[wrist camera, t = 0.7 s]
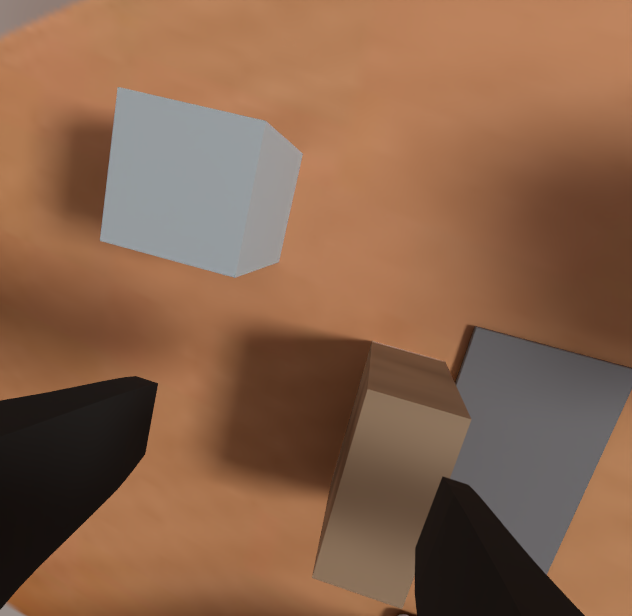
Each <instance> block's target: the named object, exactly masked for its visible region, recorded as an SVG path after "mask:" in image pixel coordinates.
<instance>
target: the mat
mask: <svg viewBox="0 0 632 616" xmlns="http://www.w3.org/2000/svg"><path fill="white" fill-rule="evenodd" d="M455 384H456V387H457V389H458V391H459V393H460V395H461V397H462V400H463V402H464V404H465V406H466V408H467V411H468V413H469V415H470V417H471V419H472V420H471V422H470V425H469V428H468V430H467V433H466V436H465V439H464V441H463V444H462V447H461V450H460V452H459V455H458V458H457V461H456V463H455V466H454V469H453V471H452V474H451V477H450V479H453V480H456V481H459V482H462V483H465V484H468V485H469V486H470V487H471V488H472V489H473V490H474V491H475V492H476V493H477V494H478V495H479V496H480V497H481V499H482V500H483V501H484V502H485V503H486V504H487V506H488V507H489V508H490V509H491V510H492V512H493V513H494V514H495V515H496V516H497V518H498V519H499V520H500V521H501V522H502V524H503V525H504V526H505V527H506V528H507V530H508V531H509V532H510V533H511V534H512V536H513V537H514V538H515V539H516V540H517V542H518V543H519V544H520V545H521V546H522V547H523V549H524V550H525V551H526V552H527V553H528V554H529V556H530V557H531V558H532V559H533V560H534V561H535V563H536V564H537V565H538V566H539V567H540V568H541V569H542V570H543V572H544V573H545V574H546V575H547V573H548V571H549V568H550V566H551V564H552V562H553V560H554V557H555V555H556V553H557V551H558V549H559V547H560V544H561V542H562V540H563V538H564V536H565V533H566V531H567V529H568V527H569V525H570V523H571V520H572V518H573V516H574V514H575V512H576V510H577V507H578V505H579V503H580V501H581V499H582V496H583V494H584V492H585V490H586V488H587V486H588V483H589V481H590V479H591V477H592V475H593V472H594V470H595V468H596V466H597V464H598V462H599V459H600V457H601V455H602V453H603V451H604V449H605V446H606V444H607V442H608V440H609V438H610V435H611V433H612V431H613V429H614V427H615V425H616V422H617V420H618V418H619V416H620V414H621V411H622V409H623V407H624V405H625V403H626V401H627V398H628V396H629V394H630V392H631V390H632V368H629V367H626V366H622V365H618V364H615V363H611V362H607V361H603V360H600V359H596V358H592V357H589V356H585V355H581V354H577V353H574V352H570V351H566V350H563V349H559V348H555V347H551V346H548V345H544V344H540V343H537V342H533V341H529V340H525V339H522V338H518V337H514V336H511V335H507V334H503V333H499V332H496V331H492V330H488V329H485V328H481V327H477V326H475V328H474V331H473V334H472V336H471V339H470V342H469V345H468V348H467V351H466V354H465V357H464V359H463V362H462V365H461V368H460V371H459V374H458V377H457V380H456V382H455Z"/></svg>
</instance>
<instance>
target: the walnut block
mask: <svg viewBox="0 0 632 616" xmlns="http://www.w3.org/2000/svg"><path fill="white" fill-rule="evenodd" d="M471 420H472V419H471V417H470V415H469V413H468V411H467V408H466V406H465V404H464V402H463V400H462V397H461V395H460V393H459V391H458V389H457V387H456V384H455V382H454V380H453V378H452V376H451V373H450V371H449V369H448V367H447V365H446V362H445V361H442V360H438V359H435V358H431V357H428V356H424V355H421V354H417V353H413V352H410V351H406V350H403V349H399V348H396V347H392V346H388V345H385V344H381V343H378V342H374V341H372V343H371V347H370V350H369V354H368V357H367V361H366V364H365V367H364V371H363V374H362V378H361V381H360V385H359V388H358V392H357V395H356V399H355V402H354V406H353V409H352V413H351V416H350V419H349V423H348V426H347V430H346V433H345V437H344V440H343V444H342V447H341V451H340V454H339V458H338V461H337V464H336V468H335V471H334V475H333V478H332V482H331V486H330V491H329V496H328V501H327V506H326V511H325V516H324V521H323V526H322V531H321V536H320V541H319V546H318V551H317V556H316V561H315V566H314V571H313V576H312V578H314V579H317V580H320V581H323V582H326V583H329V584H331V585H334V586H337V587H340V588H343V589H346V590H349V591H352V592H354V593H357V594H360V595H363V596H366V597H369V598H372V599H375V600H378V601H380V602H383V603H386V604H389V605H392V606H395V607H398V608H401V609H402V608H403V605H404V603H405V600H406V597H407V594H408V592H409V589H410V586H411V583H412V581H413V578H414V575H415V547H416V544H417V542H418V539H419V537H420V534H421V531H422V529H423V526H424V524H425V521H426V518H427V516H428V513H429V510H430V508H431V505H432V503H433V500H434V497H435V495H436V492H437V489H438V487H439V484H440V482H441V479H442V476H443V477H446V478H449V479H450V477H451V474H452V471H453V469H454V466H455V463H456V461H457V458H458V455H459V452H460V450H461V447H462V444H463V441H464V439H465V436H466V433H467V430H468V428H469V425H470V422H471Z"/></svg>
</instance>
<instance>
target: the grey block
mask: <svg viewBox="0 0 632 616" xmlns="http://www.w3.org/2000/svg"><path fill="white" fill-rule="evenodd" d="M302 155H303V153H301V152H300V151H299V150H298V149H297V148H296V147H295V146H294V145H292V144H291V143H290V142H289V141H288V140H287V139H286V138H284V137H283V136H282V135H281V134H280V133H279V132H278V131H277V130H275V129H274V128H273V127H272V126H271V125H270V124H269V123H268V122H266V121H264V120H259V119H255V118H251V117H246V116H242V115H237V114H233V113H229V112H224V111H220V110H216V109H211V108H207V107H203V106H198V105H194V104H190V103H185V102H181V101H177V100H172V99H168V98H163V97H159V96H155V95H150V94H146V93H142V92H137V91H133V90H129V89H124V88H120V87H118V90H117V99H116V107H115V116H114V124H113V133H112V142H111V150H110V159H109V167H108V176H107V184H106V193H105V201H104V210H103V219H102V227H101V236H100V241H103V242H106V243H110V244H114V245H117V246H121V247H125V248H128V249H132V250H136V251H139V252H143V253H147V254H150V255H154V256H158V257H161V258H165V259H168V260H172V261H176V262H179V263H183V264H187V265H190V266H194V267H198V268H201V269H205V270H209V271H212V272H216V273H220V274H223V275H227V276H231V277H234V278H235V277H238V276H241V275H244V274H247V273H250V272H252V271H255V270H258V269H261V268H264V267H266V266H269V265H272V264H275V263H278V262H279V259H280V254H281V250H282V245H283V241H284V236H285V232H286V227H287V223H288V218H289V214H290V209H291V205H292V200H293V196H294V191H295V187H296V182H297V178H298V173H299V169H300V164H301V160H302Z"/></svg>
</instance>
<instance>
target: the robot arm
mask: <svg viewBox="0 0 632 616" xmlns="http://www.w3.org/2000/svg"><path fill="white" fill-rule="evenodd" d="M157 386H158V383H155V382H152V381H149V380H146V379H143V378H140V377H137V376H133V377H124V378H118V379H112V380H107V381H102V382H97V383H92V384H87V385H82V386H77V387H72V388H67V389H63V390H58V391H53V392H48V393H42V394H36V395H30V396H25V397H19V398H13V399H7V400H1V401H0V609H1V608H2V607H3V606H4V605H5V603H6V602H7V601H8V600H9V599H10V598H11V596H12V595H13V594H14V593H15V592H16V591H17V590H18V588H19V587H20V586H21V585H22V584H23V583H24V582H25V581H26V580H27V579H28V578H29V577H30V576H31V575H32V574H33V572H34V571H35V570H36V569H37V568H38V567H39V566H40V565H41V564H42V563H43V562H44V561H45V560H46V559H47V558H48V557H49V556H50V555H51V554H52V553H53V552H54V551H55V550H56V549H58V548H59V547H60V546H61V545H62V544H63V543H64V542H65V541H66V540H67V539H68V538H69V537H70V536H71V535H72V534H73V533H74V532H75V531H76V530H77V529H78V528H79V527H80V526H81V525H82V524H83V523H84V522H85V521H86V520H87V519H88V518H89V517H90V516H91V515H92V514H93V513H94V512H95V511H96V510H97V509H98V508H99V507H100V506H101V505H102V504H103V503H104V502H105V501H106V500H107V499H108V498H109V497H110V496H111V495H112V494H113V493H114V492H115V491H116V490H117V489H118V488H119V487H120V486H121V484H122V483H123V482H124V481H125V480H126V478H127V477H128V476H129V475H130V473H131V472H132V471H133V470H134V468H135V467H136V466H137V464H138V463H139V462H140V460H141V459H142V458H143V456H144V455H145V452H146V447H147V441H148V436H149V430H150V425H151V419H152V414H153V408H154V403H155V397H156V392H157ZM415 599H416V609H417V616H585V615H584V614H583V613H582V612H581V611H580V610H579V609H578V608H577V607H576V606H575V605H574V604H573V603H572V602H571V601H570V600H569V599H568V598H567V597H566V595H565V594H564V593H563V592H562V591H561V590H560V589H559V588H558V587H557V586H556V585H555V584H554V583H553V581H552V580H551V579H550V578H549V577H548V576H547V575H546V574H545V573H544V572H543V570H542V569H541V568H540V567H539V566H538V565H537V564H536V563H535V561H534V560H533V559H532V558H531V557H530V556H529V554H528V553H527V552H526V551H525V550H524V549H523V547H522V546H521V545H520V544H519V543H518V542H517V540H516V539H515V538H514V537H513V536H512V534H511V533H510V532H509V531H508V530H507V528H506V527H505V526H504V525H503V524H502V522H501V521H500V520H499V519H498V518H497V516H496V515H495V514H494V513H493V512H492V510H491V509H490V508H489V507H488V506H487V504H486V503H485V502H484V501H483V500H482V499H481V497H480V496H479V495H478V494H477V493H476V492H475V491H474V490H473V489H472V488H471V487H470V486H469V485H468V484H465V483H462V482H459V481H456V480H453V479H449V478H446V477H443V476H442V479H441V482H440V484H439V487H438V489H437V492H436V495H435V497H434V500H433V503H432V505H431V508H430V510H429V513H428V516H427V518H426V521H425V524H424V526H423V529H422V531H421V534H420V537H419V539H418V542H417V544H416V547H415ZM398 616H408V615H404V614H402V615H398Z"/></svg>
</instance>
